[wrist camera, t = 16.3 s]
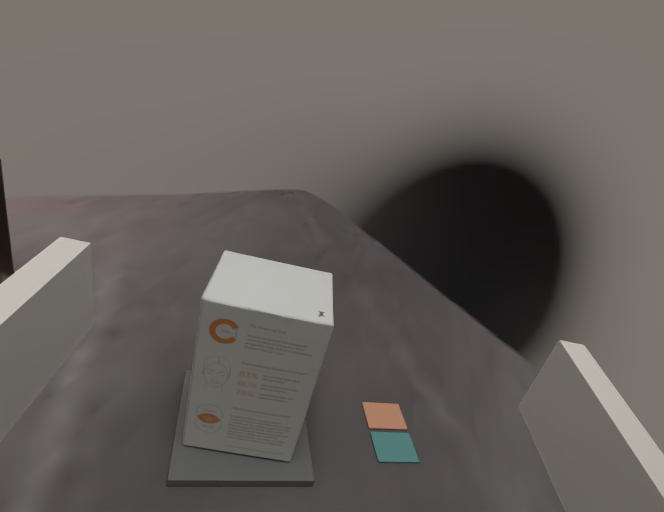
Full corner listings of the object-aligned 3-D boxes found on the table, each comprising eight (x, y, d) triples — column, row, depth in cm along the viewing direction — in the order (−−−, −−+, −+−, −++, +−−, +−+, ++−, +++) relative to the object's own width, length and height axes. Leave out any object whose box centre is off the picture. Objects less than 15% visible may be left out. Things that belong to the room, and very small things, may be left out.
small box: (296, 398, 38) (335, 272, 32) (291, 464, 32) (336, 326, 26) (201, 381, 37) (223, 247, 31) (179, 446, 31) (199, 298, 25)
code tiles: (397, 404, 41) (398, 404, 41) (419, 462, 36) (419, 462, 36) (361, 402, 40) (362, 402, 40) (378, 462, 35) (378, 461, 35)
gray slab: (298, 382, 40) (300, 377, 40) (312, 485, 32) (314, 480, 31) (185, 375, 38) (185, 369, 37) (166, 485, 29) (167, 480, 29)
